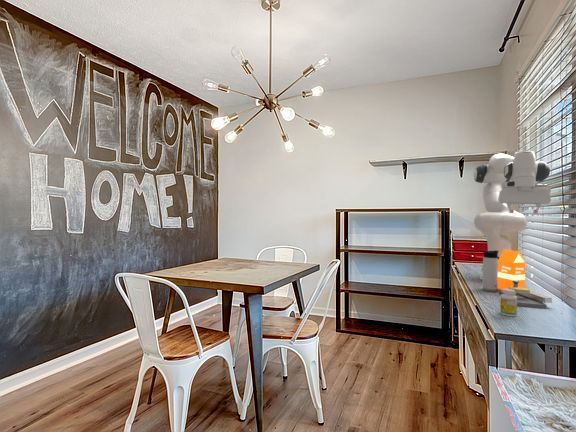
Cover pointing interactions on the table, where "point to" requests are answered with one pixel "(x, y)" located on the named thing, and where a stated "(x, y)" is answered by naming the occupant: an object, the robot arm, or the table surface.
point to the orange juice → (511, 269)
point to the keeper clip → (519, 289)
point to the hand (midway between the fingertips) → (523, 213)
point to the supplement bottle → (508, 303)
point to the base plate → (528, 301)
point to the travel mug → (490, 270)
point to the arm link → (532, 294)
